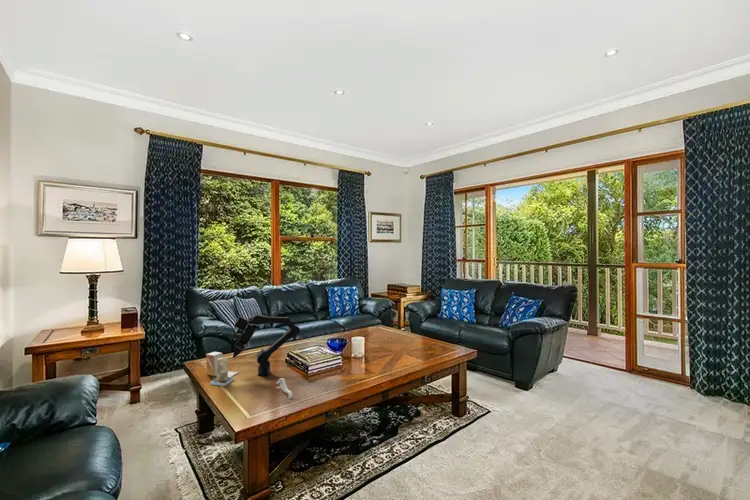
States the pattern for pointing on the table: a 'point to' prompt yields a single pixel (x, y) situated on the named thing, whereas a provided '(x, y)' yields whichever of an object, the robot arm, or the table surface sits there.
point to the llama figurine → (284, 387)
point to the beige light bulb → (222, 370)
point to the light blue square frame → (221, 383)
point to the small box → (212, 362)
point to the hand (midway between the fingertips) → (234, 356)
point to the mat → (232, 374)
